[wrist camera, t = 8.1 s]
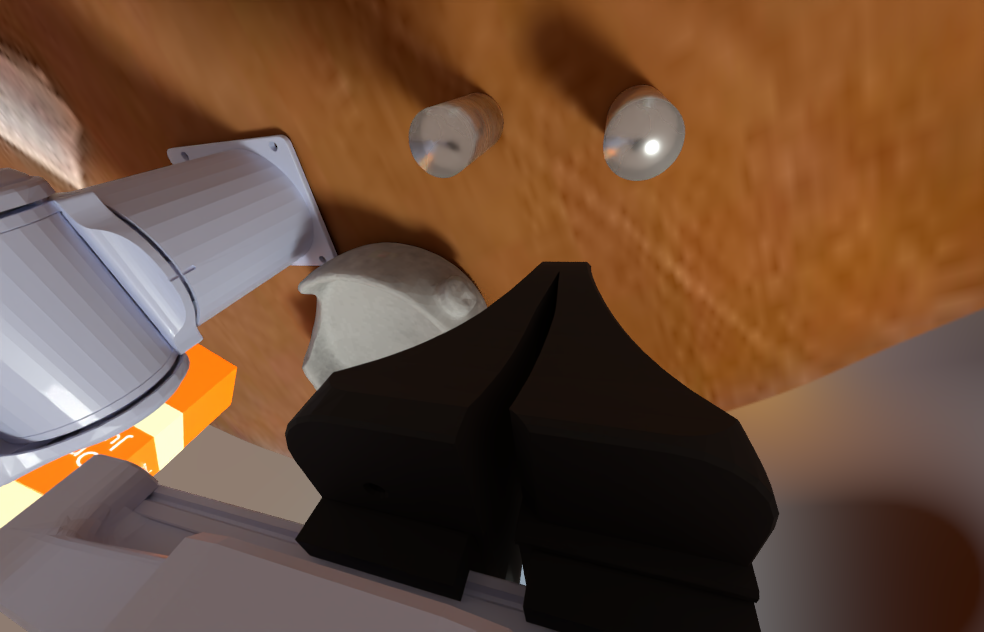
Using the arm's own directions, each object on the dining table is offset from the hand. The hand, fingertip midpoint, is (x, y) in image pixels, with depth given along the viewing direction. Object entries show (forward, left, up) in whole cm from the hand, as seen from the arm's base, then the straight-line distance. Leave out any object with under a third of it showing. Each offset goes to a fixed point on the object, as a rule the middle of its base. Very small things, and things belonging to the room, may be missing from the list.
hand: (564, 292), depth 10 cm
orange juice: (-40, -17, -10) cm, 45 cm away
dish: (-12, -9, -10) cm, 18 cm away
